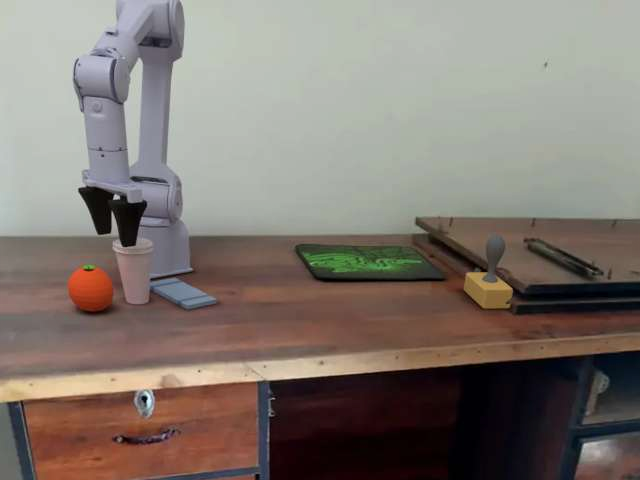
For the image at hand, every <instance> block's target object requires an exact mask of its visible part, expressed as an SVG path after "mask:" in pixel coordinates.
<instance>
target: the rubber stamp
mask: <svg viewBox="0 0 640 480" xmlns="http://www.w3.org/2000/svg"><path fill="white" fill-rule="evenodd" d="M505 251H506V242H505V238H503V237H502V235H501V236H500V235H499V234H494V235H492V236H490V237H489V238H488V240H487V241H486V245H485V254H486V259H487V266H488V267H487V268H488V269H487V271H486V272H483V271H482V272H480V271H479V272H477V271H476V272H475V271H474V272H471V271H470V272H469V271H468V272H466V273H465V277H464V282H463V283H464V284H463V285H464V286H463V292H465V293H466V294H467V295H468V296H469V297H470V298H471V299H472V300H473V301H474V302H476V303H477V304H478V305H479V306H480V307H481V308H482V309H510V308H511V305H512V302H511V303H510V304H506V302H507V301H508V300H509V299H511V298H512V299H513V295H514V290H513V288H512V287H511V286H510V285H509V284H508V283H506V282H505V281H504V280H502V278H500V277H499V276H497V275H496V268H497V266H498V264H499V262H500V261H501V259H502V257H503V255H504V253H505Z"/></svg>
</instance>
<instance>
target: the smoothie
mask: <svg viewBox="0 0 640 480" xmlns="http://www.w3.org/2000/svg"><path fill="white" fill-rule="evenodd" d="M112 251H114V252H115V256H116V261H117V265H118V266H117V267H118V270H119V276H120V280H121V283H122V288H123V292H124V297H125V302H127V303H128V304H131V305H144V304H147V303H149V301H150V282H151V279H150V270H151V251H153V243H152V242H151V241H150V240H148V239H144V238H137V241H136V246H132V247H122V245H121V242H120V238H119V237H118V238H117V239H114V240H113V241H112Z"/></svg>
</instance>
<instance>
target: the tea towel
mask: <svg viewBox="0 0 640 480" xmlns="http://www.w3.org/2000/svg"><path fill="white" fill-rule="evenodd" d="M149 291H151V292H154V293H155V294H157V295H159V296H160V297H163V298H165V299H166V300H168V301H170V302H172V303H174V304H175V305H178V306H180V307H182V308H183V309H185V310H187V311H189V310H192V309H197V308H198V309H199V308H202V307H207V306H211V305H216V304H218V298H216V297H214V296H212V295H210V294H208V293H206V292H204V291H202V290H201V289H198V288H196V287H194V286H192V285H190V284H188V283H186V282H184V281H183V280H180V279H178V278H176V277H171V278H166V279H161V280H155V281H150V289H149Z"/></svg>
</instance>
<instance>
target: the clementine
mask: <svg viewBox="0 0 640 480" xmlns="http://www.w3.org/2000/svg"><path fill="white" fill-rule="evenodd" d="M67 291H68V296H69V298H70V300H71V302H72V303H73V304H75V306H77V307H78V308H80V309H81V310H83V311H86V312H91V313H92V312H99V311H103V310H104V309H105V308H107V307H108V306H109V305H110V304H111V303H112V301H113V298H114V295H115V294H114V293H115V288H114V284H113V282H112V279H111V278H110V276H109V275H108V273H106V272H105V271H103V270H102V269H100V268H98V267H95V266H94V265H92V264H85V265H84V266H81V267H79V268H78V269H76V270H75V271H74V272H72V274H71V275H70V277H69V278H68V282H67Z"/></svg>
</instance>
